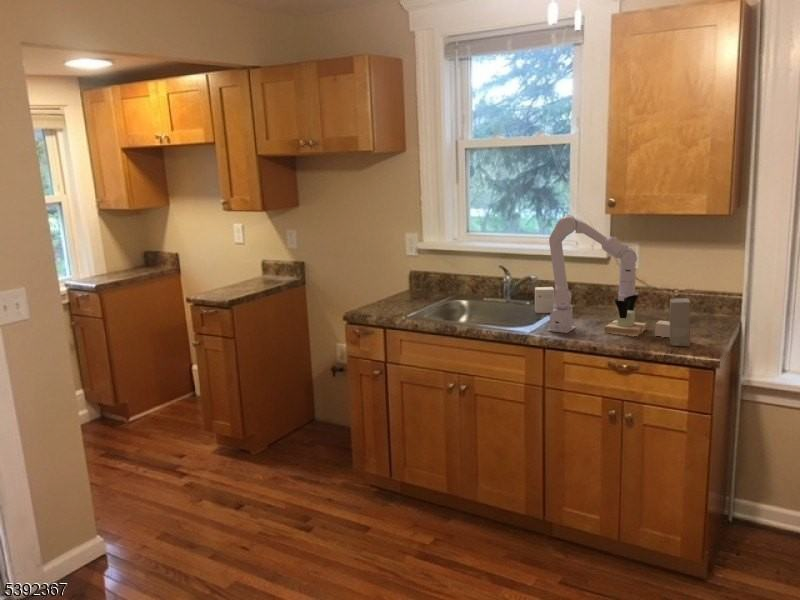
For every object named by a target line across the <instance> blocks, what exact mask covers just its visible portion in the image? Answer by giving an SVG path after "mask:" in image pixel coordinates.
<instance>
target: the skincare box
mask: <svg viewBox="0 0 800 600" xmlns="http://www.w3.org/2000/svg"><path fill="white" fill-rule="evenodd" d="M690 312H691V300H690V298H686V297H683V298H670V299H669V314H668V315H669V322H670V338H669V343H670V346H673V347H688V348H690V346H691V317H690V316H691V313H690Z"/></svg>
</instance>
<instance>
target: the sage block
mask: <svg viewBox="0 0 800 600" xmlns="http://www.w3.org/2000/svg"><path fill="white" fill-rule="evenodd" d="M635 314H636V311H635V310H633V311H632V310H628V311H627V316H626V318H620V316H619V311H618V312H617V320H618V325H621V326H630V327H631V326H632V325H633V324H635V322H636V315H635Z"/></svg>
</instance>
